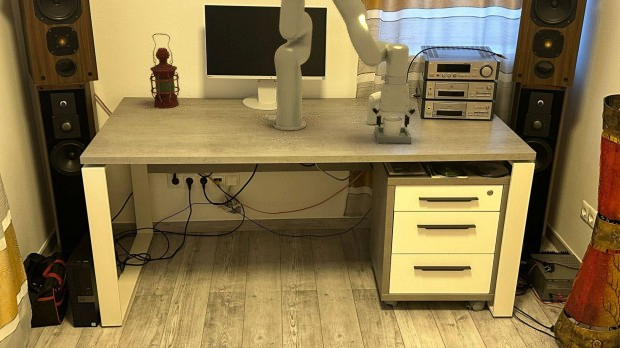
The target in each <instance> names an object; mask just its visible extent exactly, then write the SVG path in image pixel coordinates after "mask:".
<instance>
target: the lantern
mask: <svg viewBox="0 0 620 348" xmlns="http://www.w3.org/2000/svg"><path fill="white" fill-rule="evenodd" d="M155 35H156V36H157V33H154V34H153V35H152V36H151V37H152V41H153V42H154V49H153V50H152V58H153V61H152V62H153V63H154V66H152V67H150V68H149V69H150V71H151V73H150V77H149V80H150V88H151V89H150V93H151V96H152V97H153V98H154V99H153V100H154V101H153V102H154V103H153V106H154V107H155V108H157V107H158V109H172V108H176V106H177V107H178V106H179V105H180V103H179V98H178V96H179V95H180V94H179V92H180V91H181V89H180V86H179V80H180V76H179V73H178V72H177V70H178V67H177V66H175V65H173V63H174V60H173V53H172V51H171V49H170V46H169V43H170V41H171V36H170V35H168V34H167V33H159V35H161V36H167V37H168V43H167V47H168V49H167V48H166V47H159V48H157V50H156V52H155V49H156V46H157V44H156V41H155V38H154V36H155ZM155 57H156V58H155ZM170 57H171V58H170ZM169 58H170V60H169ZM157 60H158V62H159V63H158V64H156V63H157ZM168 60H169V63H168ZM153 78H154V79H153ZM175 81H176V85H175ZM154 85H155V87H154ZM154 90H155V91H154Z"/></svg>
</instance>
